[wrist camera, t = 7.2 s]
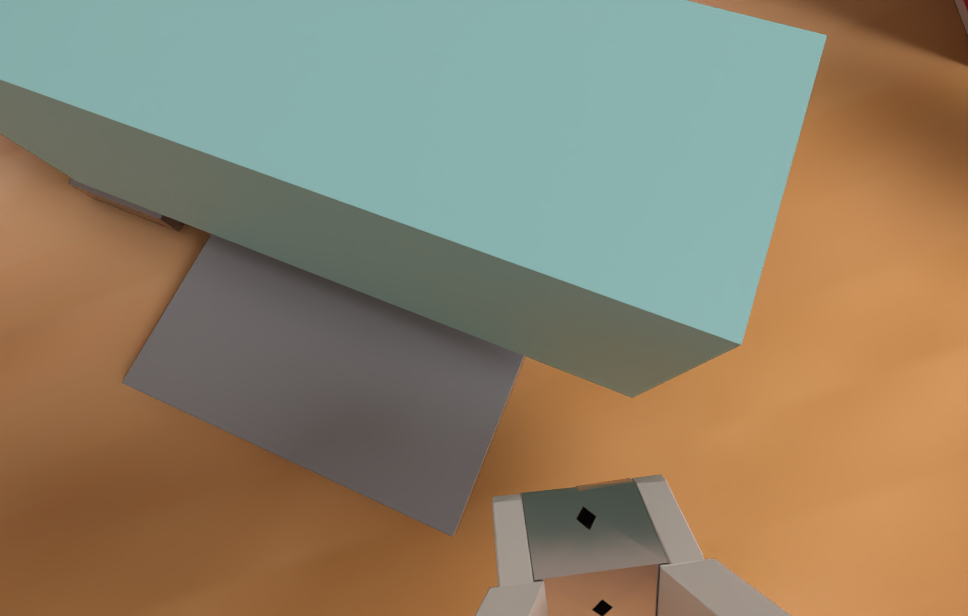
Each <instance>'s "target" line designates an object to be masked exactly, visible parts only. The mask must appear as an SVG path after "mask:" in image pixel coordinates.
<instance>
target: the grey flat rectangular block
mask: <svg viewBox="0 0 968 616" xmlns="http://www.w3.org/2000/svg"><path fill="white" fill-rule="evenodd" d="M524 358H525V356H524V355H521V354H519V353H516V352H513V351H511V350H508V349H506V348H503V347H501V346H498V345H495V344H493V343H490V342H488V341H485V340H483V339H480V338H477V337H475V336H472V335H470V334H467V333H465V332H462V331H459V330H457V329H454V328H452V327H449V326H447V325H444V324H442V323H439V322H436V321H434V320H431V319H429V318H426V317H424V316H421V315H418V314H416V313H413V312H411V311H408V310H406V309H403V308H400V307H398V306H395V305H393V304H390V303H388V302H385V301H382V300H380V299H377V298H375V297H372V296H370V295H367V294H365V293H362V292H359V291H357V290H354V289H352V288H349V287H347V286H344V285H341V284H339V283H336V282H334V281H331V280H329V279H326V278H323V277H321V276H318V275H316V274H313V273H311V272H308V271H305V270H303V269H300V268H298V267H295V266H293V265H290V264H287V263H285V262H282V261H280V260H277V259H275V258H272V257H270V256H267V255H264V254H262V253H259V252H257V251H254V250H252V249H249V248H246V247H244V246H241V245H239V244H236V243H234V242H231V241H228V240H226V239H223V238H221V237H218V236H216V235H213V234H211V235H210V237H209V239H208V240H207V242H206V244H205V245H204V247H203V249H202V250H201V252H200V254H199V255H198V257H197V259H196V260H195V262H194V264H193V265H192V267H191V269H190V270H189V272H188V274H187V275H186V277H185V279H184V280H183V282H182V284H181V285H180V287H179V289H178V290H177V292H176V294H175V295H174V297H173V299H172V300H171V302H170V303H169V305H168V307H167V308H166V310H165V312H164V313H163V315H162V317H161V318H160V320H159V322H158V323H157V325H156V327H155V328H154V330H153V332H152V333H151V335H150V337H149V338H148V340H147V342H146V343H145V345H144V347H143V348H142V350H141V352H140V353H139V355H138V357H137V358H136V360H135V362H134V363H133V365H132V366H131V368H130V370H129V371H128V373H127V375H126V376H125V378H124V380H123V381H122V383H124V384H126V385H128V386H130V387H132V388H134V389H136V390H139V391H141V392H143V393H145V394H147V395H149V396H151V397H154V398H156V399H158V400H160V401H162V402H164V403H166V404H169V405H171V406H173V407H175V408H177V409H179V410H181V411H184V412H186V413H188V414H190V415H192V416H194V417H196V418H199V419H201V420H203V421H205V422H207V423H209V424H212V425H214V426H216V427H218V428H220V429H222V430H224V431H227V432H229V433H231V434H233V435H235V436H237V437H239V438H242V439H244V440H246V441H248V442H250V443H252V444H254V445H257V446H259V447H261V448H263V449H265V450H267V451H269V452H272V453H274V454H276V455H278V456H280V457H282V458H284V459H287V460H289V461H291V462H293V463H295V464H297V465H299V466H302V467H304V468H306V469H308V470H310V471H312V472H314V473H317V474H319V475H321V476H323V477H325V478H327V479H330V480H332V481H334V482H336V483H338V484H340V485H342V486H345V487H347V488H349V489H351V490H353V491H355V492H357V493H360V494H362V495H364V496H366V497H368V498H370V499H372V500H375V501H377V502H379V503H381V504H383V505H385V506H387V507H390V508H392V509H394V510H396V511H398V512H400V513H402V514H405V515H407V516H409V517H411V518H413V519H415V520H417V521H420V522H422V523H424V524H426V525H428V526H430V527H433V528H435V529H437V530H439V531H441V532H443V533H445V534H448V535H450V536H453V535H454V534H455V533H456V531H457V528H458V526H459V523H460V521H461V518H462V516H463V513H464V511H465V508H466V506H467V503H468V500H469V498H470V495H471V493H472V490H473V488H474V485H475V483H476V480H477V478H478V475H479V472H480V470H481V467H482V465H483V462H484V460H485V457H486V455H487V452H488V450H489V447H490V444H491V442H492V439H493V437H494V434H495V432H496V429H497V427H498V424H499V422H500V419H501V416H502V414H503V411H504V409H505V406H506V404H507V401H508V399H509V396H510V393H511V391H512V388H513V386H514V383H515V381H516V378H517V376H518V373H519V371H520V368H521V365H522V363H523V360H524Z"/></svg>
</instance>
